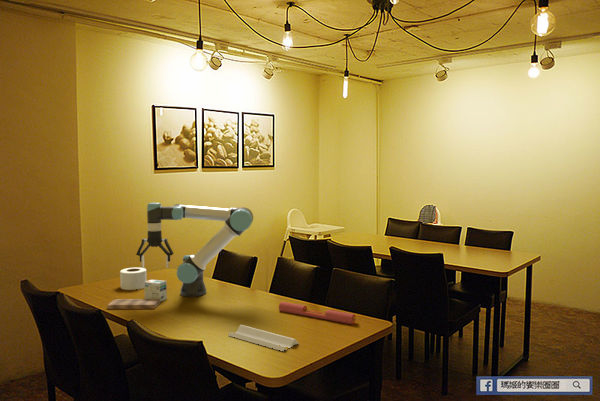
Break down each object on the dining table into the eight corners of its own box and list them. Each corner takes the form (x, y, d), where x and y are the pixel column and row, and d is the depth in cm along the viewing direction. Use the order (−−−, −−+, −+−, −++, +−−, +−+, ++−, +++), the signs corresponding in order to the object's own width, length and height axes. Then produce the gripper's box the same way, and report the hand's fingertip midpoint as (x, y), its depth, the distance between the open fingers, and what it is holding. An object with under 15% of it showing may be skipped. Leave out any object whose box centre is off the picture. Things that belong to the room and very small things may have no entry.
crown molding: (228, 337, 219) (228, 329, 219) (246, 330, 229) (246, 322, 228) (283, 353, 201) (283, 344, 201) (299, 344, 211) (299, 336, 210)
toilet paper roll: (141, 290, 296) (141, 272, 295) (116, 289, 296) (116, 272, 295) (150, 283, 311) (149, 267, 310) (126, 283, 311) (125, 267, 310)
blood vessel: (278, 312, 255) (278, 302, 255) (283, 309, 260) (283, 300, 259) (351, 326, 235) (351, 316, 234) (355, 323, 239) (355, 313, 239)
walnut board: (160, 302, 269) (160, 298, 269) (155, 308, 258) (155, 304, 258) (114, 303, 268) (114, 299, 268) (107, 308, 257) (107, 304, 257)
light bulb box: (167, 299, 277) (167, 280, 276) (160, 302, 270) (159, 283, 270) (151, 297, 280) (151, 279, 279) (144, 300, 274) (143, 281, 273)
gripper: (178, 229, 276) (178, 265, 278) (133, 229, 275) (134, 266, 277) (175, 231, 269) (176, 268, 271) (130, 231, 268) (130, 269, 269)
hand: (155, 267), depth 274 cm, fingers open, 13 cm apart
